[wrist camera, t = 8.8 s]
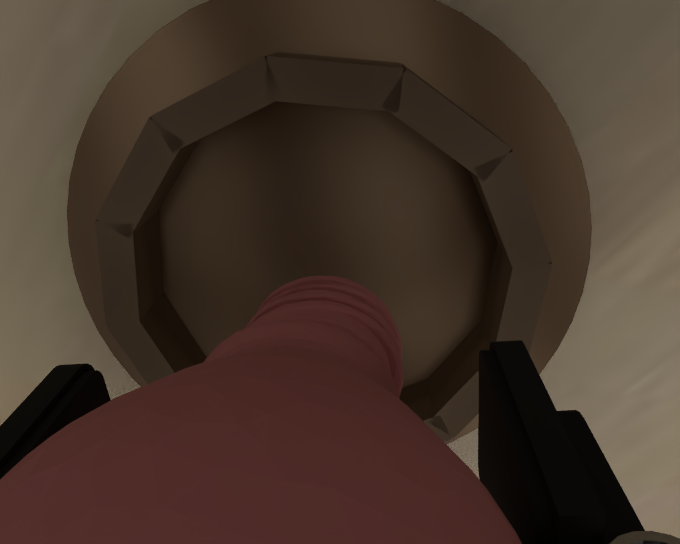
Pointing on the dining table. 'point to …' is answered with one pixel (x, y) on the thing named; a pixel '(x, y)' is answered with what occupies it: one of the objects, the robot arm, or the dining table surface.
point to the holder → (330, 188)
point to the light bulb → (260, 446)
